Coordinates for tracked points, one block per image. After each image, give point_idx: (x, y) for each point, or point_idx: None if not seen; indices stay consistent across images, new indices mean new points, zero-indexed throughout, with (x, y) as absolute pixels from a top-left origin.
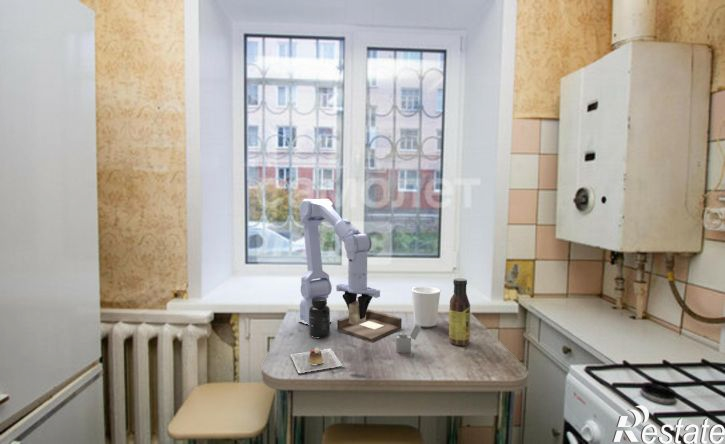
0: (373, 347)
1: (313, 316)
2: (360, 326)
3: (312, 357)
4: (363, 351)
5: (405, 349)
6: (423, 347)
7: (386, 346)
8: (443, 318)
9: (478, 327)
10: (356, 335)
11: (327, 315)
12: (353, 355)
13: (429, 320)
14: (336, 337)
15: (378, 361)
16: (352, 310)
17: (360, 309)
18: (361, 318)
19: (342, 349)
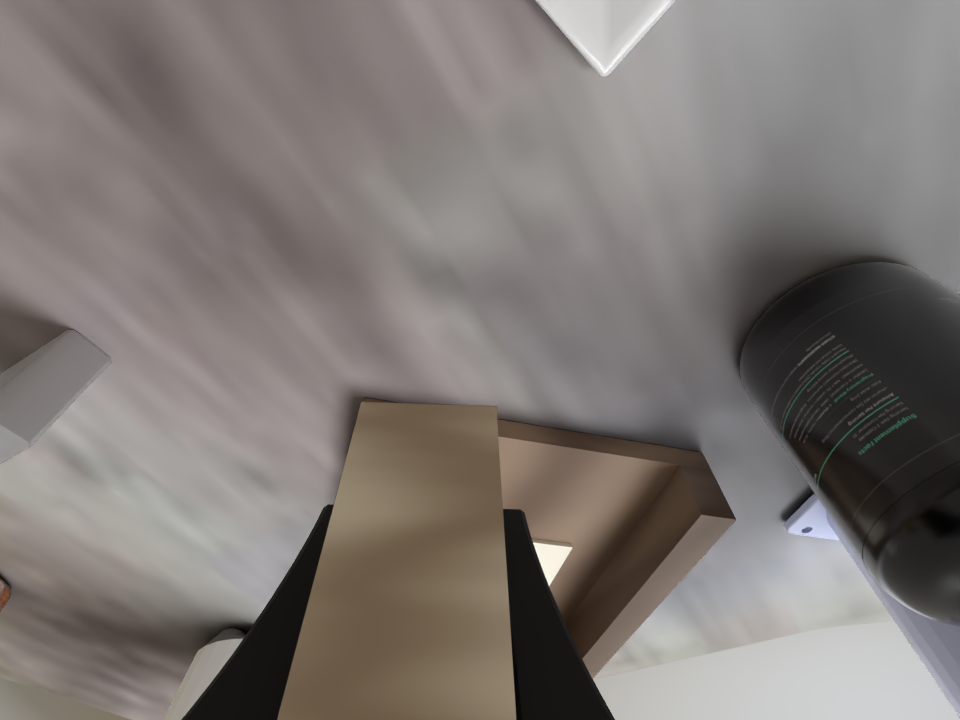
0: (284, 325)
1: None
2: (552, 533)
3: None
4: (296, 217)
5: (8, 371)
6: (23, 465)
7: (219, 381)
8: None
9: (60, 694)
10: (516, 429)
11: (864, 485)
12: (310, 78)
13: (186, 684)
14: (661, 353)
15: (5, 75)
16: (426, 591)
17: (279, 648)
18: (326, 511)
19: (493, 159)
